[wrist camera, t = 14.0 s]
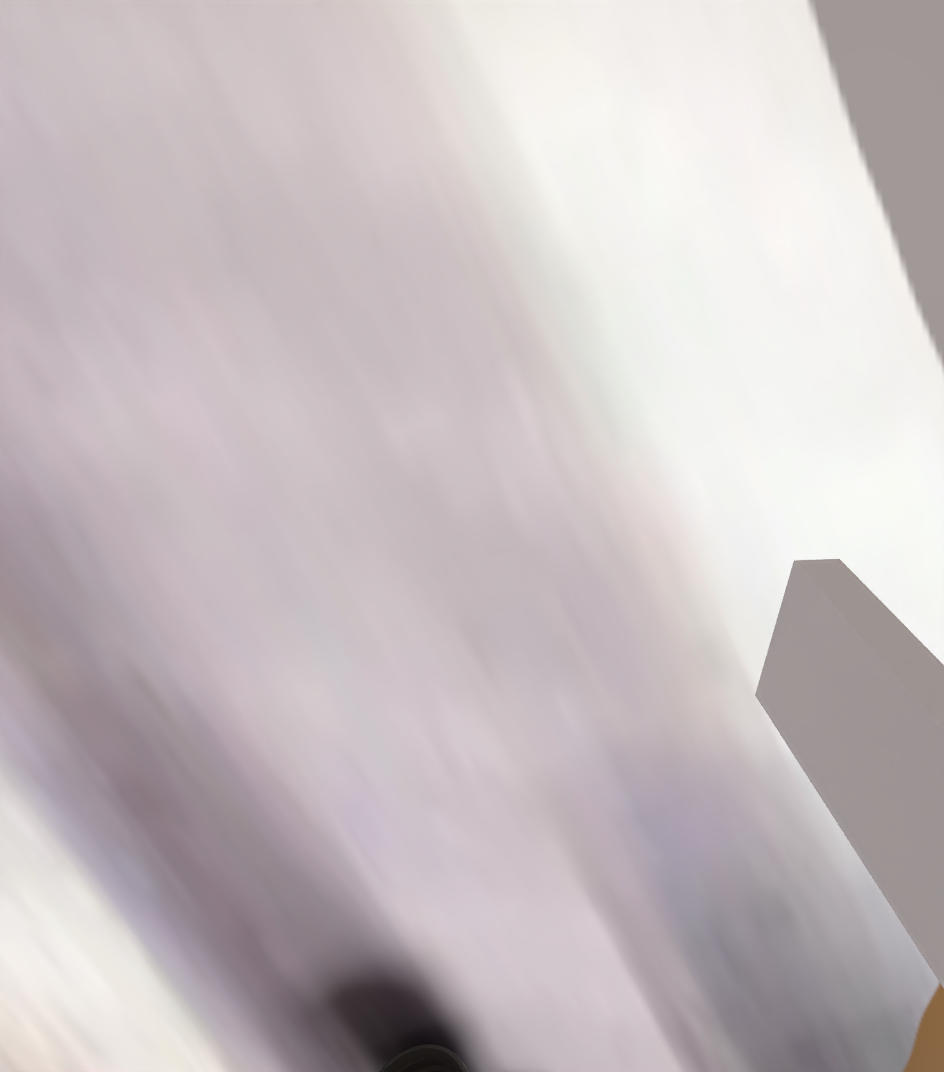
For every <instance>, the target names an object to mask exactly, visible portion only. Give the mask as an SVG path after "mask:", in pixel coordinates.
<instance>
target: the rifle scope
mask: <svg viewBox="0 0 944 1072" xmlns="http://www.w3.org/2000/svg"><path fill="white" fill-rule="evenodd" d="M379 1072H470V1070H469V1069H468V1067H467V1066H466V1065H465V1063H464V1062H463V1061H462V1060H461V1059H460V1058H459V1057H458V1056H457V1055H456V1054H455V1053H453V1052H452V1051H450V1050H449V1049H447V1048H445V1047H442V1046H439V1045H432V1044H427V1045H419V1046H416V1047H413V1048H410V1049H408V1050H406V1051H404V1052H402V1053H400V1054H399V1055H397V1056H396V1057H394V1058H393V1059H392V1060H390V1061H389V1062H388V1063H387V1064H386V1065H385V1066H384V1067H383V1068H382V1069H381V1070H380V1071H379Z"/></svg>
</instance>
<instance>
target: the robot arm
mask: <svg viewBox="0 0 944 1072" xmlns="http://www.w3.org/2000/svg"><path fill="white" fill-rule="evenodd" d="M755 695H756V697H757V699H758V700H759V702H760V703H761V705H762V706H763V708H764V709H765V711H766V713H767V714H768V716H769V717H770V719H771V720H772V722H773V723H774V725H775V727H776V728H777V730H778V731H779V733H780V734H781V736H782V738H783V739H784V741H785V742H786V744H787V745H788V747H789V748H790V750H791V752H792V753H793V755H794V756H795V758H796V759H797V761H798V762H799V764H800V766H801V767H802V769H803V770H804V772H805V773H806V775H807V776H808V778H809V780H810V781H811V783H812V784H813V786H814V787H815V789H816V790H817V792H818V794H819V795H820V797H821V798H822V800H823V801H824V803H825V804H826V806H827V808H828V809H829V811H830V812H831V814H832V815H833V817H834V818H835V820H836V822H837V823H838V825H839V826H840V828H841V829H842V831H843V832H844V834H845V836H846V837H847V839H848V840H849V842H850V843H851V845H852V846H853V848H854V850H855V851H856V853H857V854H858V856H859V857H860V859H861V860H862V862H863V864H864V865H865V867H866V868H867V870H868V871H869V873H870V875H871V876H872V878H873V879H874V881H875V882H876V884H877V885H878V887H879V889H880V890H881V892H882V893H883V895H884V896H885V898H886V899H887V901H888V903H889V904H890V906H891V907H892V909H893V910H894V912H895V913H896V915H897V917H898V918H899V920H900V921H901V923H902V924H903V926H904V927H905V929H906V931H907V932H908V934H909V935H910V937H911V938H912V940H913V941H914V943H915V945H916V946H917V948H918V949H919V951H920V952H921V954H922V955H923V957H924V959H925V960H926V962H927V963H928V965H929V966H930V968H931V969H932V971H933V973H934V974H935V976H936V977H937V979H938V980H939V982H940V983H941V985H942V986H943V988H944V665H943V664H942V663H941V662H940V661H939V660H938V659H937V658H936V657H935V656H934V655H933V654H932V653H931V652H930V651H929V650H928V649H927V648H926V647H925V646H924V645H923V644H922V643H921V642H920V641H919V640H918V639H917V638H916V637H915V636H914V635H913V634H912V633H911V632H910V630H909V629H908V628H907V627H906V626H905V625H904V624H903V623H902V622H901V621H900V620H899V619H898V618H897V617H896V616H895V615H894V614H893V613H892V612H891V611H890V610H889V609H888V608H887V607H886V606H885V605H884V604H883V603H882V602H881V601H880V600H879V599H878V598H877V597H876V596H875V595H874V594H873V593H872V592H871V591H870V590H869V589H868V588H867V587H866V586H865V585H864V584H863V583H862V582H861V581H860V580H859V578H858V577H857V576H856V575H855V574H854V573H853V572H852V571H851V570H850V569H849V568H848V567H847V566H846V565H845V564H844V563H843V562H842V561H841V560H840V559H826V560H798V561H794V563H793V566H792V570H791V573H790V576H789V580H788V583H787V587H786V590H785V594H784V597H783V601H782V604H781V608H780V611H779V615H778V618H777V622H776V625H775V628H774V632H773V635H772V639H771V642H770V646H769V649H768V653H767V656H766V660H765V663H764V667H763V670H762V673H761V677H760V680H759V684H758V687H757V691H756V694H755Z"/></svg>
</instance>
